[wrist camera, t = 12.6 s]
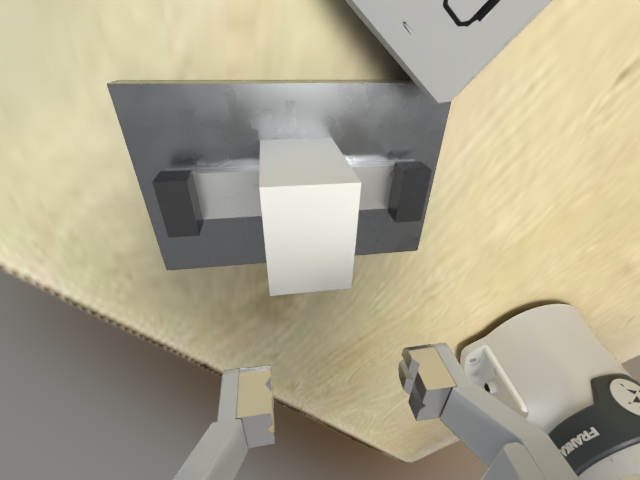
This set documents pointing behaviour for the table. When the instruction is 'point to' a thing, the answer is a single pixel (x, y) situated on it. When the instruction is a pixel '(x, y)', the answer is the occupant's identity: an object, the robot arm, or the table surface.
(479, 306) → the table surface
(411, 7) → the electrical switch
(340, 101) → the din board
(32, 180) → the table surface
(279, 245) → the din module
